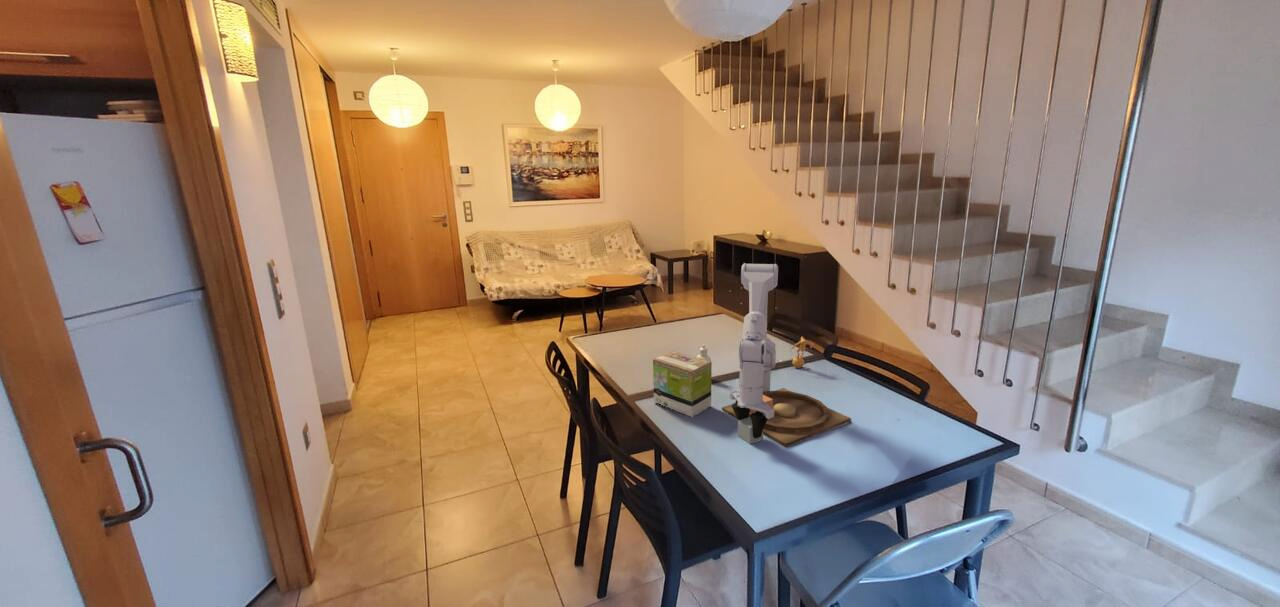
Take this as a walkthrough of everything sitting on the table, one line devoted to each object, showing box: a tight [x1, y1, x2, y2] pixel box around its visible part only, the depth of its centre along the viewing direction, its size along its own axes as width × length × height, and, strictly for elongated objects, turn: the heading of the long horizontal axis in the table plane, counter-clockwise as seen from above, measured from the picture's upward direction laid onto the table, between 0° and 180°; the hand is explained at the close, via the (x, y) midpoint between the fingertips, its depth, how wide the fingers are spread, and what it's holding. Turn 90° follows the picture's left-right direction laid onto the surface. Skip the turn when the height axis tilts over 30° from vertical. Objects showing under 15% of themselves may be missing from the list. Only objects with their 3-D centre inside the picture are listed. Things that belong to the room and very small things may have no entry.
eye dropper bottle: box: [696, 344, 712, 362], centre depth 173 cm, size 4×6×12 cm
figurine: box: [789, 336, 813, 369], centre depth 179 cm, size 8×6×12 cm
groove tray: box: [721, 387, 852, 448], centre depth 146 cm, size 25×25×2 cm
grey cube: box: [737, 417, 764, 445], centre depth 134 cm, size 5×5×5 cm
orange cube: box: [750, 395, 773, 414], centre depth 145 cm, size 5×5×5 cm
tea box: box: [652, 350, 713, 418], centre depth 153 cm, size 15×10×15 cm
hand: (750, 432), depth 134 cm, fingers closed on grey cube, 5 cm apart
